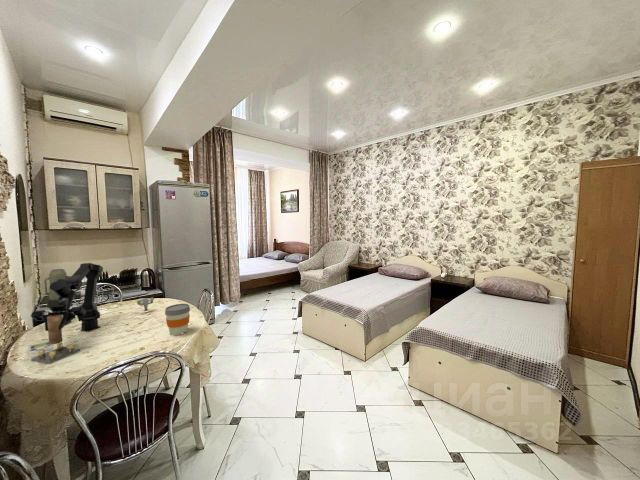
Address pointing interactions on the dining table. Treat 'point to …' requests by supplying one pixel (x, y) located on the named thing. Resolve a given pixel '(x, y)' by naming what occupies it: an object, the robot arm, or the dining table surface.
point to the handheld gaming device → (39, 347)
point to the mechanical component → (145, 302)
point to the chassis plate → (58, 356)
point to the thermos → (53, 278)
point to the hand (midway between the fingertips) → (52, 330)
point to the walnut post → (54, 329)
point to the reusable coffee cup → (177, 318)
